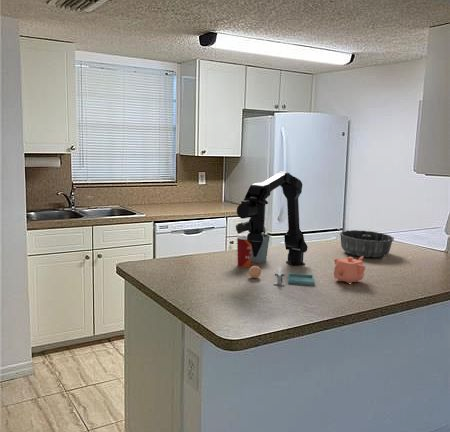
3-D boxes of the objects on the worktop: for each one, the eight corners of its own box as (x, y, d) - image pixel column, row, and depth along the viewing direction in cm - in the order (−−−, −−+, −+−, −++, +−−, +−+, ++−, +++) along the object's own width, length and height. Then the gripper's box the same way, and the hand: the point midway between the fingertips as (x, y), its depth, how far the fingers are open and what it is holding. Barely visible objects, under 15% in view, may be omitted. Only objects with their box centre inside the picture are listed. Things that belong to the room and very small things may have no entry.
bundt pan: (397, 253, 247) (399, 234, 246) (384, 263, 225) (386, 243, 224) (348, 246, 261) (349, 228, 260) (331, 254, 239) (332, 235, 238)
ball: (256, 275, 197) (257, 263, 197) (263, 278, 193) (263, 266, 192) (246, 276, 195) (246, 265, 194) (252, 280, 191) (253, 268, 190)
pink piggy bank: (364, 288, 186) (366, 262, 184) (333, 285, 188) (335, 260, 186) (361, 278, 199) (363, 254, 198) (332, 275, 202) (334, 252, 200)
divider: (275, 273, 201) (275, 264, 200) (284, 274, 200) (285, 265, 200) (273, 285, 185) (274, 275, 185) (284, 285, 185) (284, 275, 184)
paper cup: (251, 268, 208) (252, 237, 206) (234, 267, 209) (235, 235, 207) (253, 264, 215) (255, 233, 213) (237, 262, 217) (238, 232, 215)
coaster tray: (288, 276, 198) (288, 273, 197) (313, 278, 196) (313, 274, 196) (288, 283, 188) (288, 280, 187) (314, 285, 186) (314, 282, 186)
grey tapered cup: (243, 261, 220) (244, 235, 218) (250, 256, 229) (251, 232, 228) (264, 264, 216) (265, 238, 215) (270, 259, 226) (272, 234, 224)
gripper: (239, 211, 200) (238, 247, 203) (234, 218, 182) (233, 258, 184) (266, 212, 199) (264, 249, 201) (264, 220, 180) (262, 260, 183)
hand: (255, 254), depth 193 cm, fingers open, 9 cm apart
